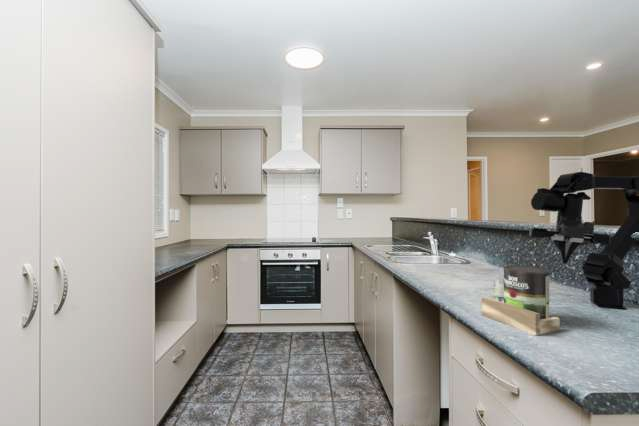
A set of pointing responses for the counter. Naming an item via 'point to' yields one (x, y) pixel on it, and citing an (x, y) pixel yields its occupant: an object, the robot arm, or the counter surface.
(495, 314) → the maple cradle
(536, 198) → the robot arm
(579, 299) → the counter surface
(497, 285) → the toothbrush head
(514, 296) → the dark container
